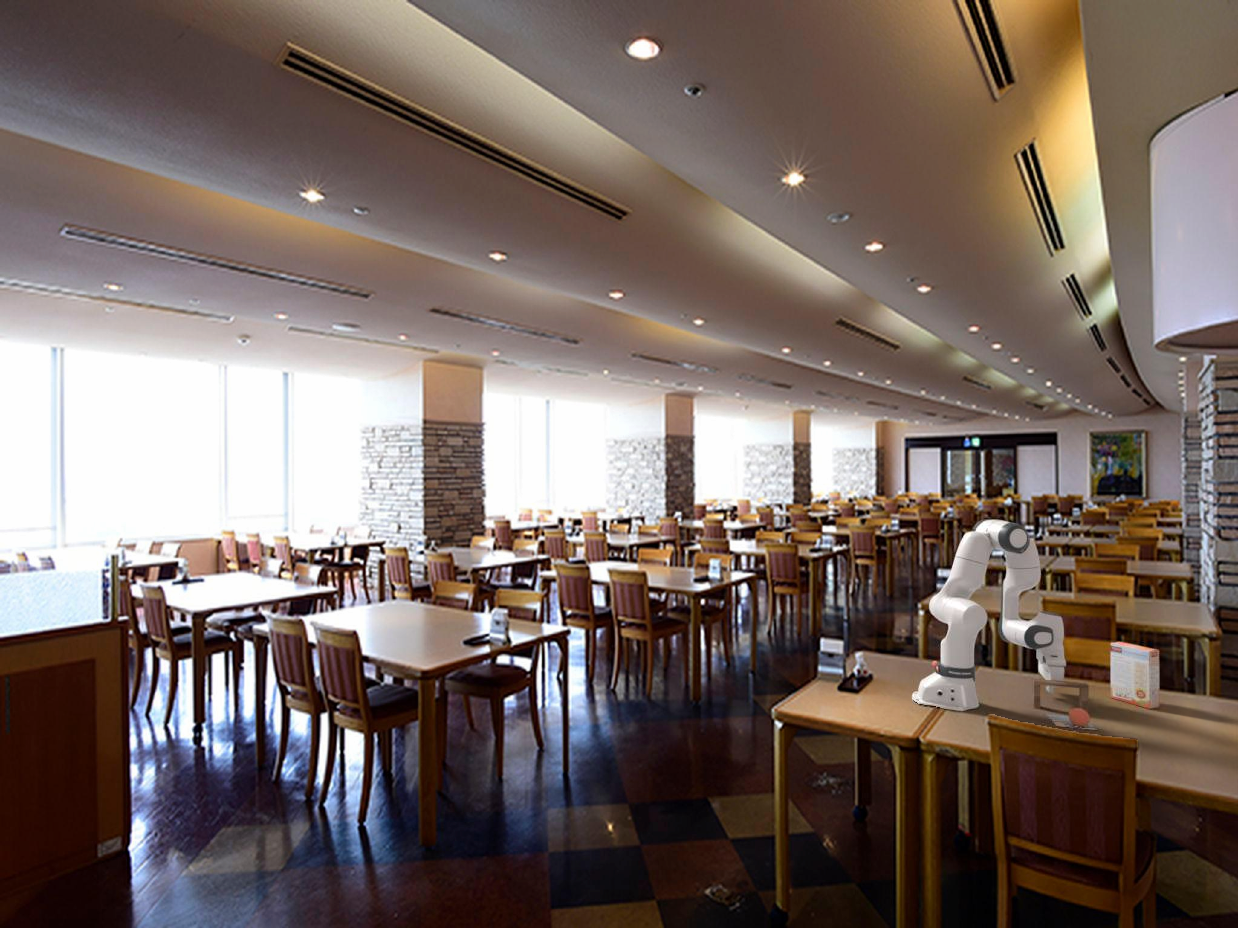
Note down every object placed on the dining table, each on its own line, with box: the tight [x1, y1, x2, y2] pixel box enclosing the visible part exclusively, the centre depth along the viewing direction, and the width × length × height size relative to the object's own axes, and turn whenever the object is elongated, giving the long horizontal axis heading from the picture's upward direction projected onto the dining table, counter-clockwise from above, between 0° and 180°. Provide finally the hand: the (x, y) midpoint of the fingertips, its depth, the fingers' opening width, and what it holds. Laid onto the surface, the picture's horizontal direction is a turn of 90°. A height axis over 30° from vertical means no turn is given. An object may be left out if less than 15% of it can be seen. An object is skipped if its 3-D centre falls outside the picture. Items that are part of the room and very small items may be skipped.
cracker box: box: [1110, 641, 1160, 710], centre depth 262 cm, size 14×6×21 cm, turn 22°
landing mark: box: [1046, 713, 1098, 731], centre depth 242 cm, size 12×12×1 cm
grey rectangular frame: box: [1031, 678, 1090, 714], centre depth 256 cm, size 3×17×10 cm, turn 72°
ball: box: [1068, 707, 1091, 727], centre depth 239 cm, size 6×6×6 cm
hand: (1050, 691), depth 268 cm, fingers closed
